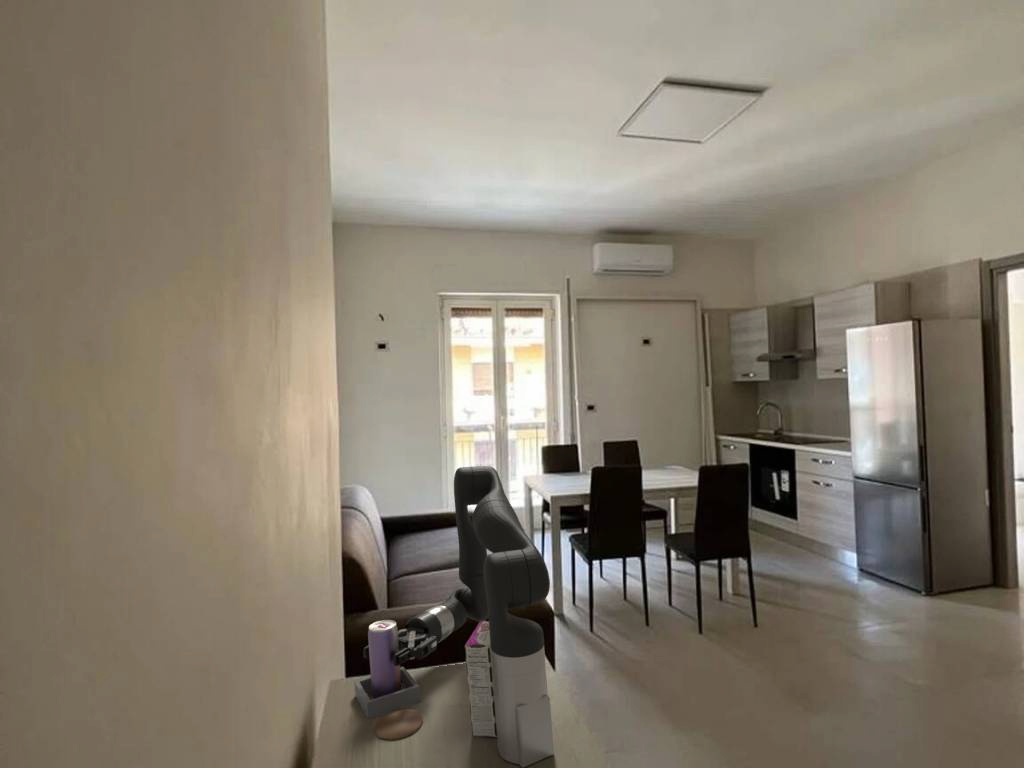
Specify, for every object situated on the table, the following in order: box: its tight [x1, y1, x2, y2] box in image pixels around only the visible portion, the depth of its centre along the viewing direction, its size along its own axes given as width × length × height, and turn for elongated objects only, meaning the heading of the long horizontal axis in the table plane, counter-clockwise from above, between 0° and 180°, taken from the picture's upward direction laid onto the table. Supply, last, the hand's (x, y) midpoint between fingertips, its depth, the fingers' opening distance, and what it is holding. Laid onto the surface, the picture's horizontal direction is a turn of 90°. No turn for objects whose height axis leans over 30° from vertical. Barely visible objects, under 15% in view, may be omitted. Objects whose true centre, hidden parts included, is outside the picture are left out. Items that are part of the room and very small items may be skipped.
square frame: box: [354, 666, 421, 720], centre depth 116 cm, size 11×11×3 cm
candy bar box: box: [464, 620, 497, 738], centre depth 105 cm, size 11×5×16 cm, turn 168°
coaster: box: [373, 708, 424, 740], centre depth 106 cm, size 9×9×1 cm
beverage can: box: [367, 619, 403, 700], centre depth 116 cm, size 6×6×15 cm
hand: (379, 657), depth 115 cm, fingers open, 8 cm apart
